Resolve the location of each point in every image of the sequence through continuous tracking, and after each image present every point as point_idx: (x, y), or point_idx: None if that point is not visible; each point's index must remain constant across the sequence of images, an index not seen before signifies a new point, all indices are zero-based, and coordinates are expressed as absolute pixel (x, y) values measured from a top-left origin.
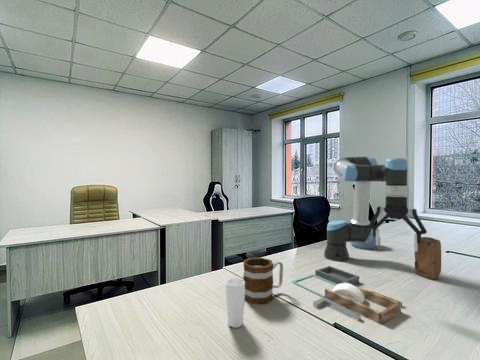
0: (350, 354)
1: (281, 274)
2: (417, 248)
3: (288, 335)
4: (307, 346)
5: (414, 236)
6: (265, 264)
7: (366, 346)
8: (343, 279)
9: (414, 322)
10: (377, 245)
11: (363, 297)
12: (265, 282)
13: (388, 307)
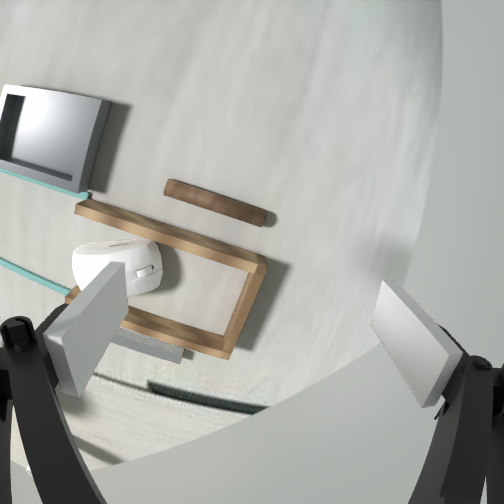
0: (205, 433)
1: None
2: (399, 290)
3: (118, 432)
4: (151, 440)
5: (415, 397)
6: None
7: (219, 413)
8: (64, 129)
9: (297, 292)
10: (127, 310)
11: (158, 272)
12: (13, 404)
13: (237, 317)
